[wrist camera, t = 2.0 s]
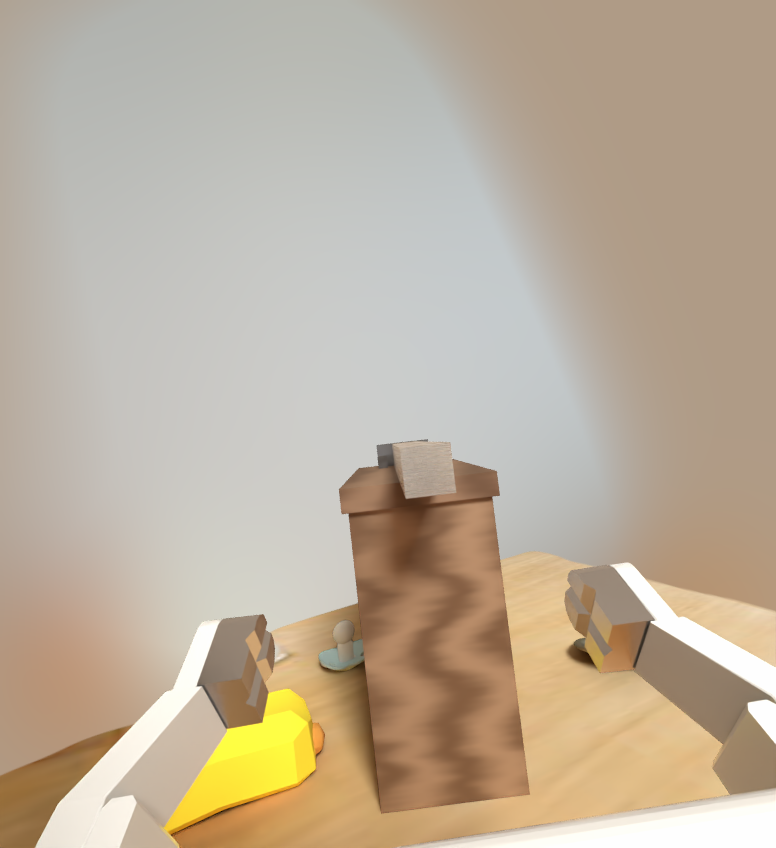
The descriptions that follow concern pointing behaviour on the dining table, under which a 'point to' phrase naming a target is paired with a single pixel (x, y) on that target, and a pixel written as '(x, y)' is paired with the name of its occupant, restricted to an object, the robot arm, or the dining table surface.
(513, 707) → the walnut stand
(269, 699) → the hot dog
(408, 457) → the aluminium bar
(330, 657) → the pacifier
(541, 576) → the dining table surface
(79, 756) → the dining table surface
